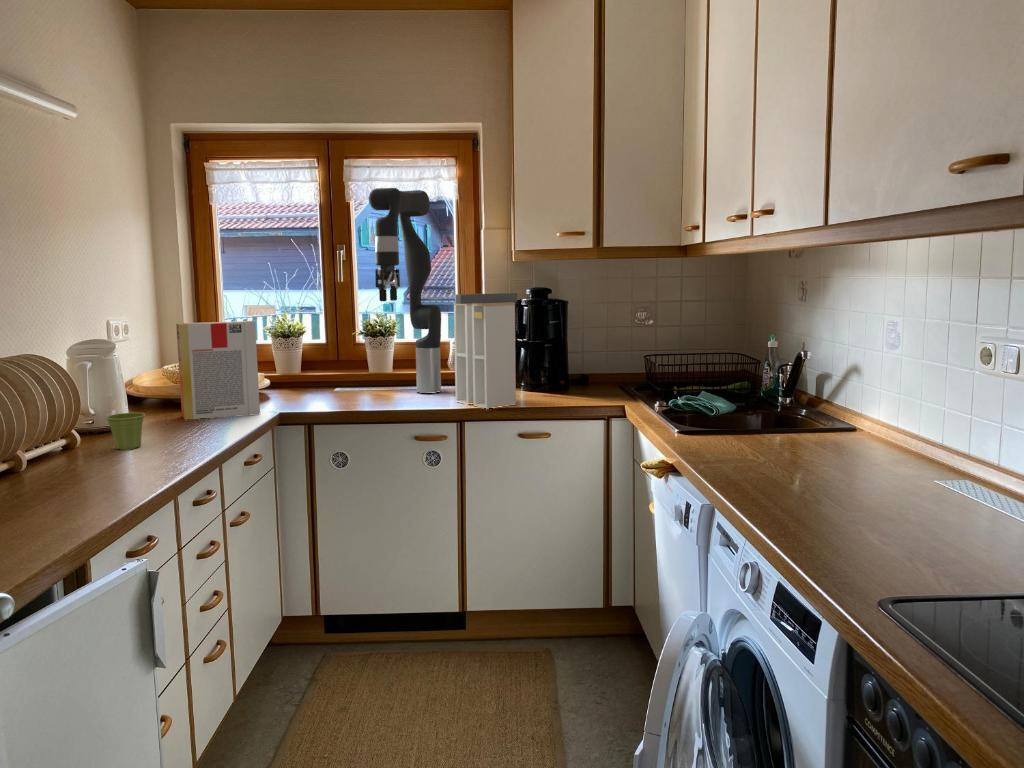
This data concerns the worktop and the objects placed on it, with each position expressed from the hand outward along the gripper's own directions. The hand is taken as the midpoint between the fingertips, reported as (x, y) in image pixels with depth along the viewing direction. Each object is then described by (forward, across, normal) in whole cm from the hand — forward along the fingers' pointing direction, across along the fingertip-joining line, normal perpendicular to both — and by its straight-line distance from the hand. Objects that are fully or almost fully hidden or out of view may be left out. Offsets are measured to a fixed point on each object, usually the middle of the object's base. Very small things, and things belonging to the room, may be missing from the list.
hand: (388, 300), depth 271 cm
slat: (+1, +12, -30) cm, 33 cm away
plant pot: (+36, -72, +44) cm, 92 cm away
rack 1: (+36, +21, -23) cm, 48 cm away
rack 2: (+36, +14, -32) cm, 50 cm away
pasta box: (+36, -22, +50) cm, 66 cm away
